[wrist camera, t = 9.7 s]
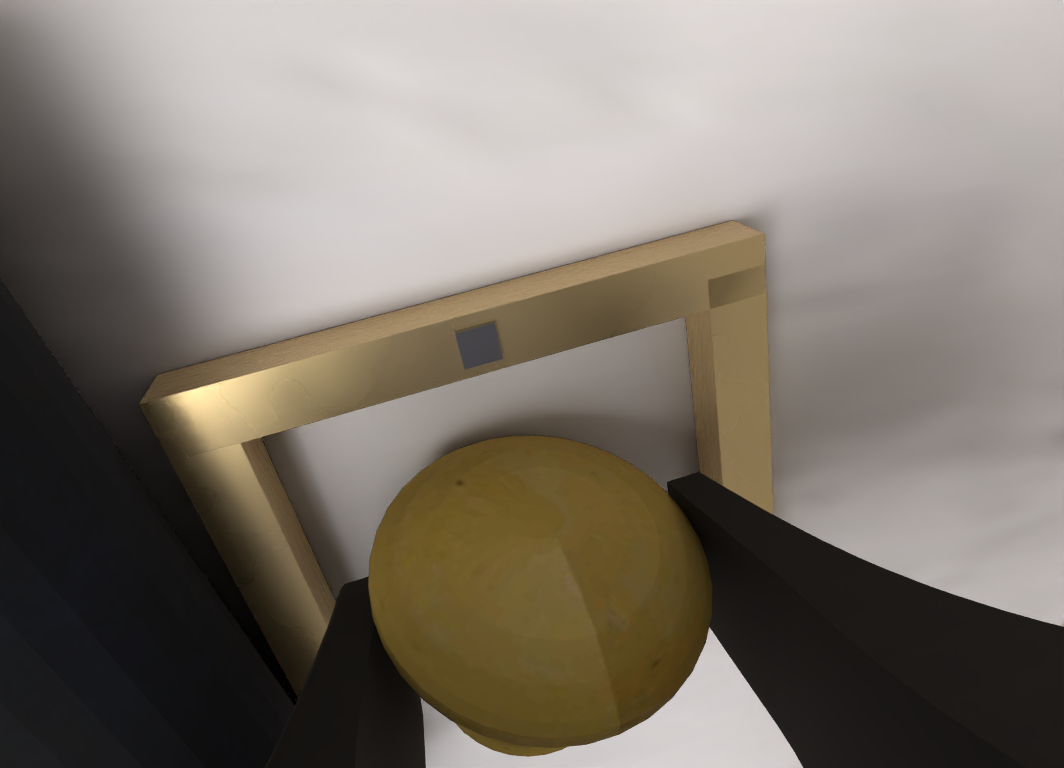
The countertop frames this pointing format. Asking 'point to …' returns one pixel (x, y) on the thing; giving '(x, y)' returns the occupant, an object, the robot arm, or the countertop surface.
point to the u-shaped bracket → (445, 357)
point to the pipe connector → (107, 600)
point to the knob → (539, 592)
